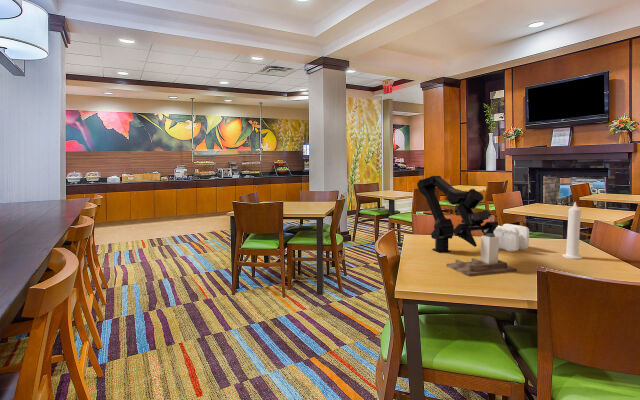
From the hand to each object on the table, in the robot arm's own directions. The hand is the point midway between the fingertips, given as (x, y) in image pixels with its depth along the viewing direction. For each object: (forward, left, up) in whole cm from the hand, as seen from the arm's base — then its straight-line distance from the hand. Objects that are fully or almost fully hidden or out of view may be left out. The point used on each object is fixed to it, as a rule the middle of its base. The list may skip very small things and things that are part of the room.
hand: (485, 245), depth 150 cm
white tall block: (+3, 0, -8) cm, 8 cm away
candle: (-1, +47, -9) cm, 48 cm away
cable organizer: (-22, +32, -9) cm, 40 cm away
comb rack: (+3, -4, -9) cm, 10 cm away
